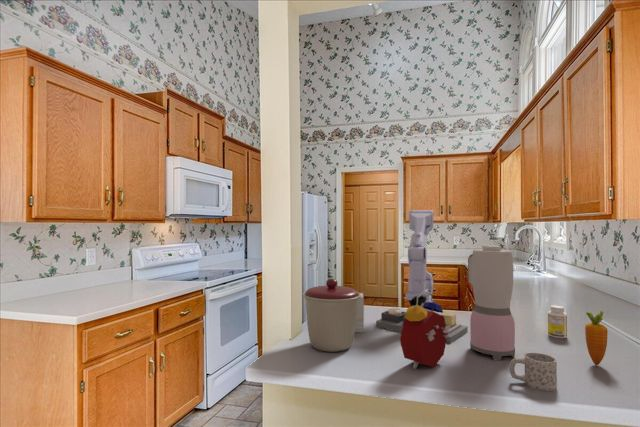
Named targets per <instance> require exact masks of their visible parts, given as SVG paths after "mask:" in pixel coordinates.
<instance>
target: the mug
mask: <svg viewBox="0 0 640 427" xmlns="http://www.w3.org/2000/svg"><path fill="white" fill-rule="evenodd" d="M517 364H521V365H524V374H516V371H515V370H516V369H515V366H516V365H517ZM557 365H558V364H557V358H555V357H554V356H552V355H550V354H546V353H541V352H526V353H524V357H521V358H513V359H511V360H510V363H509V372H510V373H509V374H510V376H511V378H512V379H515V380H518V381H522V382H524V384H525V385H526V386H528V387H530V388H531V387H532V389H534V390H537V391H540V392H541V391H543V392H555V391H557V388H558V387H557V386H558V383H557V382H558V378H557V376H558V375H557V374H558V373H557V372H558V371H557V370H558V368H557Z"/></svg>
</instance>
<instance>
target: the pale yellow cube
mask: <svg viewBox="0 0 640 427" xmlns="http://www.w3.org/2000/svg"><path fill="white" fill-rule="evenodd" d="M440 315H441V316H443V317H444V319H445V324H446V326H449V325H450V327H451V328H452V327H454V326H455V325H456V324H457V314H456V313H450V312H443V313H441V314H440Z"/></svg>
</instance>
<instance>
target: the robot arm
mask: <svg viewBox="0 0 640 427" xmlns="http://www.w3.org/2000/svg"><path fill="white" fill-rule="evenodd" d="M408 222H409V228H410V230H411V231H413V233H412V234H411V236H410V245H409V247H408V249H407V260H408V267H409V268H408V279H407V281H408V282H407V293H406V294H405V300H406V301H408V302H409V305H410V307H411V306H415V305H416V304H417V297H418V296H419V295H420V294H422V293H423V292H424V291H426V292H429V293H432V294H433V293H434V277H433V275H432V274H431V273H430V272H429V271H428V270H427V259H428V258H427V257H428V250H427V249H428V248H427V247H428V246H427V245H428V244H427V243H428V242H427V240H428V239H427V238H428V234H429V232H431V231H433V229H434V210H433V209H410V210H409V211H408ZM432 300H433V301H434V299H433V298H432ZM425 302H432V301H431V295H430V294H427V293H424V294H422V295H421V296H420V297H419V298H418V305H417V306H421V305H422V303H425ZM424 309H425V308H424ZM425 310H427V311H431V310H428V309H425Z"/></svg>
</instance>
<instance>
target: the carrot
mask: <svg viewBox="0 0 640 427" xmlns="http://www.w3.org/2000/svg"><path fill="white" fill-rule="evenodd" d="M585 313H586V314H585V315H587V317H588V318H589V320H590V321H591V322H587V323H586V324H585V326H584V327H585V328H584V330H585V331H584V333H585V342H586V343H585V344H586V348H587V352H588V354H589V356H590V357H589V358H590V359H591V361H592V363H593V364H594V365H595V366H596V367H597V366H598V365H600V364H601V362H602V361H603V359H604V357H605V355H606V351H607V347H608V332H609V331H608V328H607V327H606V326H605V325H604V324H602V323H600V322H602V320H604V318H603V315H604V314H605V313H604V311H603V310H600V311H599V313H596V315H595V316H594V315H593V313H592V312H590V311H586V312H585Z"/></svg>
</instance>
